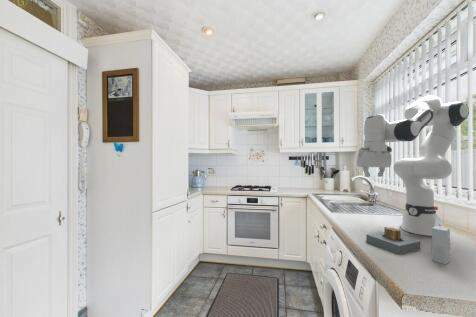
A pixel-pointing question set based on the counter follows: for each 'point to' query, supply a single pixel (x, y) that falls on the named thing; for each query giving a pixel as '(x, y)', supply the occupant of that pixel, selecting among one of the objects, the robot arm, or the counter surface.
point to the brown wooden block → (392, 233)
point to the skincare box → (441, 244)
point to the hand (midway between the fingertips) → (373, 176)
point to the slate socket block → (393, 243)
